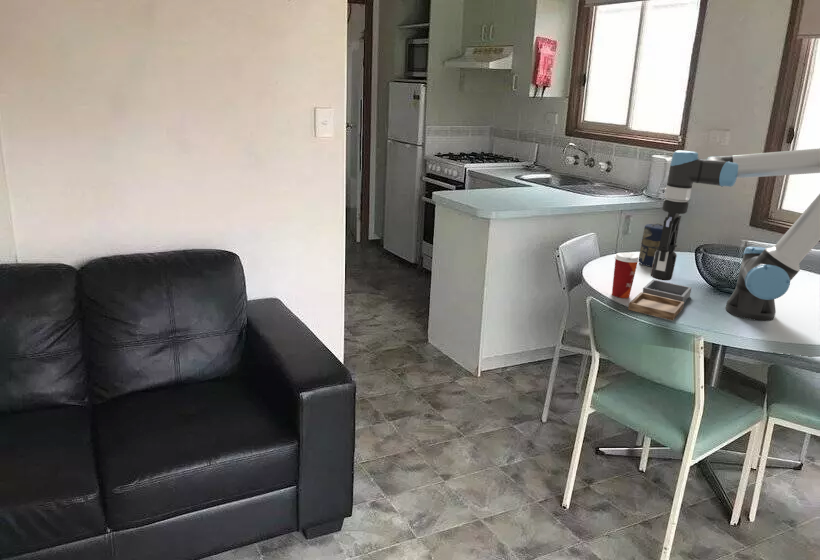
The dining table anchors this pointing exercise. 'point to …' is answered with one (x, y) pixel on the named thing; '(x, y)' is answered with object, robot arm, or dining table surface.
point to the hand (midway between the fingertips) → (663, 267)
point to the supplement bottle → (670, 265)
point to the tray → (656, 306)
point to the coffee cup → (624, 274)
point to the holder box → (668, 290)
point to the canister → (650, 243)
